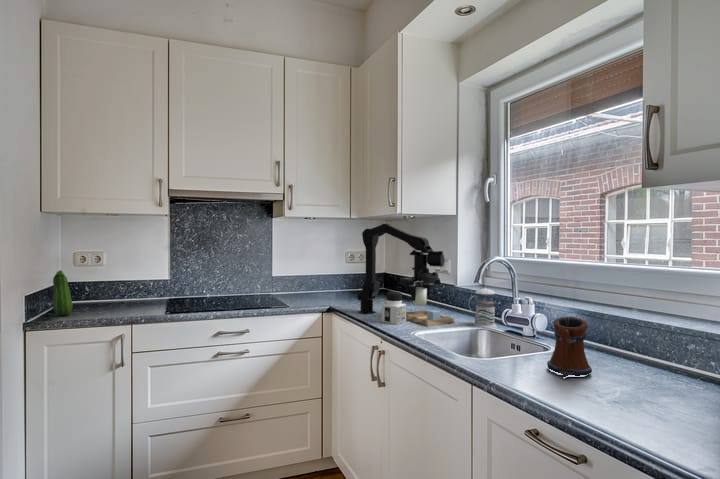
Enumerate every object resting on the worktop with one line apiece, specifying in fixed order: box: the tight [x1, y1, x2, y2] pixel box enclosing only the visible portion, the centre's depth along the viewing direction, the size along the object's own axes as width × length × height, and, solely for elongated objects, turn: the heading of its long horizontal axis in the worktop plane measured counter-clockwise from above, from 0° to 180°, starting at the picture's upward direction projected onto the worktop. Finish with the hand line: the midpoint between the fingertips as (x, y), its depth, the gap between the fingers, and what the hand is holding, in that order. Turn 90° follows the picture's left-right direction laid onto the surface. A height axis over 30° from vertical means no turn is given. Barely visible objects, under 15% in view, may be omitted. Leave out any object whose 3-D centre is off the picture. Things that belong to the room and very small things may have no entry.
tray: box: [406, 309, 455, 327], centre depth 195 cm, size 20×14×2 cm
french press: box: [468, 266, 498, 329], centre depth 187 cm, size 10×12×25 cm
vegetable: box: [52, 270, 74, 317], centre depth 195 cm, size 7×7×20 cm
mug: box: [546, 316, 593, 377], centre depth 123 cm, size 18×12×15 cm, turn 146°
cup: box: [412, 286, 428, 306], centre depth 200 cm, size 6×6×7 cm
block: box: [426, 309, 442, 320], centre depth 191 cm, size 4×4×4 cm
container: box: [381, 290, 407, 325], centre depth 191 cm, size 8×8×13 cm
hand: (419, 300), depth 200 cm, fingers closed on cup, 6 cm apart
